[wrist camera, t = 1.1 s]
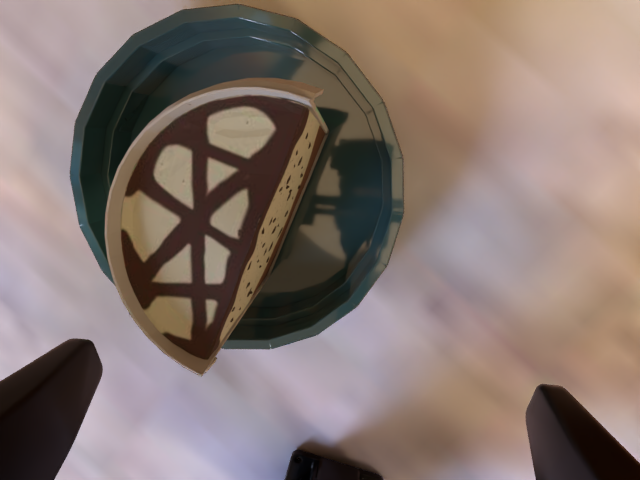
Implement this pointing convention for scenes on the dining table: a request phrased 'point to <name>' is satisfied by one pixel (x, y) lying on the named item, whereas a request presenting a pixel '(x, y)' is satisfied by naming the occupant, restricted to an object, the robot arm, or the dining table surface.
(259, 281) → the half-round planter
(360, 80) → the bowl
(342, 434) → the dining table surface
